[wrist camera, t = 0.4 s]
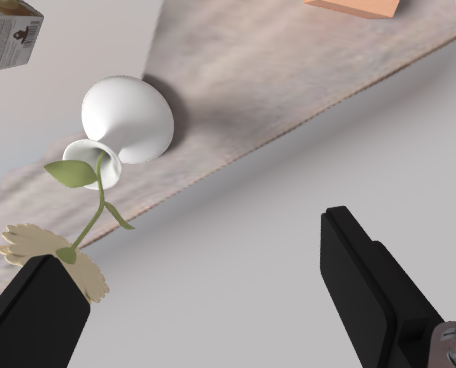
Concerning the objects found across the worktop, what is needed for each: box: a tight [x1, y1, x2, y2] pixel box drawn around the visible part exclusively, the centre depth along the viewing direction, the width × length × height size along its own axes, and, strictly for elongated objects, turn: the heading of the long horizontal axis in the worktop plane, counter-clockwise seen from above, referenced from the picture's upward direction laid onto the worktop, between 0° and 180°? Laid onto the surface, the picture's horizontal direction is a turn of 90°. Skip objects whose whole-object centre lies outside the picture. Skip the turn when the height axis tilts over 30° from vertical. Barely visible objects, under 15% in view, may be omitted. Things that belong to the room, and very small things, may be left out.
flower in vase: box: [0, 76, 174, 304], centre depth 25 cm, size 13×11×25 cm
